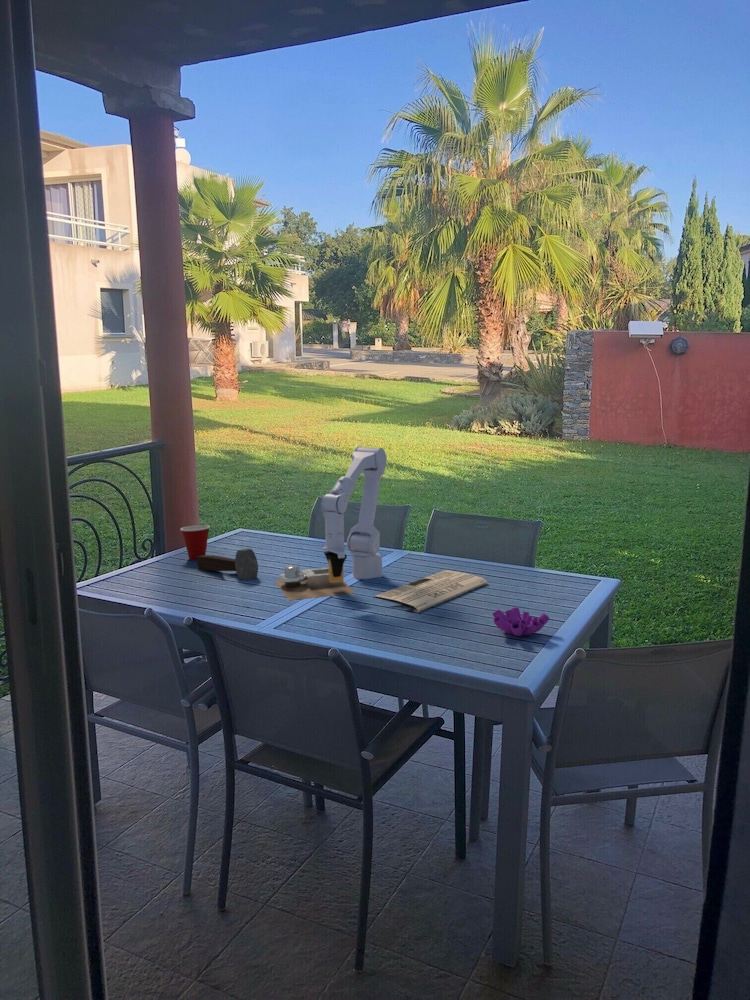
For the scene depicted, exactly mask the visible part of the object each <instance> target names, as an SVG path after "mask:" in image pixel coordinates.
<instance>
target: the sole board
mask: <svg viewBox="0 0 750 1000" xmlns="http://www.w3.org/2000/svg"><path fill="white" fill-rule="evenodd" d="M274 582H275V584H276V586H277V587H278V588H279V589H280V591H281V593H283V595H284V596H285V597H286V598H287V600H288V601H289V602H290V601H298V600H307V599H316V598H325V597H335V596H342V595H351V594H356V591H354V590H353V588H351V587H350V586H349V585H348V584H347V583H346V582H345V581H344V580H343V584H335V585H325V586H316V587H307V586H306V585H305V584H304V582H303V581H302V582H300V586H298V587H286V586H285V583H284V582H280V581H279V579H278V580H274Z"/></svg>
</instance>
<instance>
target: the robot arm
mask: <svg viewBox="0 0 750 1000" xmlns="http://www.w3.org/2000/svg"><path fill="white" fill-rule="evenodd" d="M351 453H352V454H351V462H350V465H349V467H348V469H347V471H346V473H345V475H344V476H341V477H340V476H339V478H338V480H337V481H336V483H335V484H334V486H333V487H332V489H331V490H330V492H329V493H327V494H325V495H323V496H322V498H321V502H320V508H321V511H322V516H323V518H324V526H325V527H324V528H325V531H324V532H325V534H324V535H325V546H322V547H321V550H322V551H324V552H323V554H324V555H325V559H326V560H327V565H329V563H328V559H329V560H330V562H331V566H332V572H333V576H334V577H340V576H341V572H342V567H343V568H344V564H345V561H346V559H347V557H348V555H347V554H346V552H345V550H346V548H347V550H348V551H349V552H350V555H352V578H354V579H357V580H369V579H370V580H371V579H374V578H375V579H376V578H382V577H383V559H382V555H381V553H379V551H380V547H381V540H380V538H381V535H380V534H381V532H380V531H379V530H378V529H377V528H376V527H375V526H374V523H375V517H376V510H377V504H378V500H379V499H378V497H379V492H380V486H381V479H382V476H383V475H384V474H385V472H386V471H385V470H386V466H387V465H386V464H387V459H388V458H387V454H386V450H385V449H384V448H382V447H363V446H356V447H355V448H354V449H353V452H351ZM361 474H363V475H364V477H365V478H364V484H363V491H362V496H361V497H362V498H361V503H360V508H359V516H358V523H356V524H355V525H354V526H353V527H351V528H350V530H349V535H348V536H347V539H346V546H345V521H344V519H345V517H344V515H345V513H346V511H347V507H348V504H349V498H350V496H351V495H352V493H353V491H354V490H355V488H356V484H355V482H356V481H357V480H358V478H359V477H360V475H361Z"/></svg>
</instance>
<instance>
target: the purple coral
mask: <svg viewBox="0 0 750 1000" xmlns="http://www.w3.org/2000/svg"><path fill="white" fill-rule="evenodd" d="M492 616H493V617H494V618H493V623H494V624H495V626H496V627H497V628H498V629H499V630H501V631H503V632H505V633H508V634H512V635H514V636H517V637H520V636H527V635H531V634H534V633H536V632H539V631H541V630H542V629H543V628H544V626H545V625H546V624H547V623H548V622H549V620H550V616H548V615H547V614H546V613H544V612H543V613H542V614H541V615H540V616H538V617H536V616H534V617H533V616H532V615H530V613H529V612H528V611H522V614H521V611H520V608H519V607H511V609H509V610H508V609H507V610H505V613H504V612H502V610H501V609H500V608H499V609H497V610H496V611H494V612H492Z"/></svg>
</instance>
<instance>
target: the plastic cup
mask: <svg viewBox="0 0 750 1000" xmlns="http://www.w3.org/2000/svg"><path fill="white" fill-rule="evenodd" d="M210 527H211V526H210V525H208V524H200V525H199V524H196V525H188V526H183V527H180V529H179V530H180V531H181V534H182V536H183V540H184V543H185V544H184V545H185V548H186V551H187V555H188V559H189V560H191V561H197V557H198V556H203V555H206V554H207V547H208V536H209V531H210Z"/></svg>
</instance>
